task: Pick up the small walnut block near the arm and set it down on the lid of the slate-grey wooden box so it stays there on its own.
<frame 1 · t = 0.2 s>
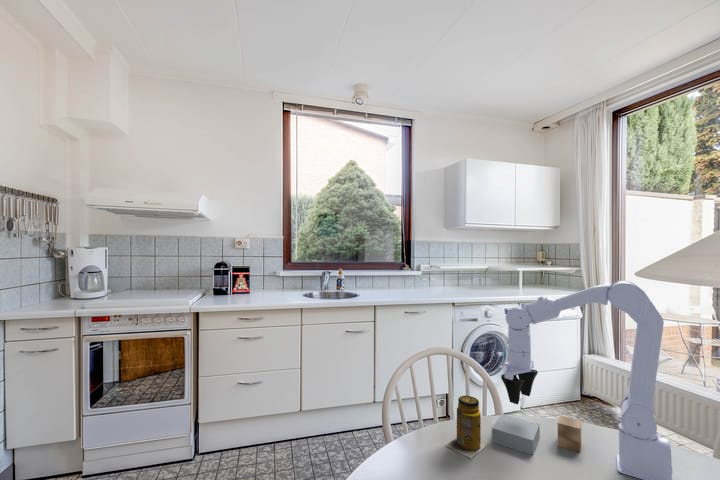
hand: (520, 398, 95), 10 cm above the table, tool pointing down, fingers open, 7 cm apart
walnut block: (569, 444, 90), on the table
slate box: (516, 441, 93), on the table
condiment: (466, 446, 89), on the table
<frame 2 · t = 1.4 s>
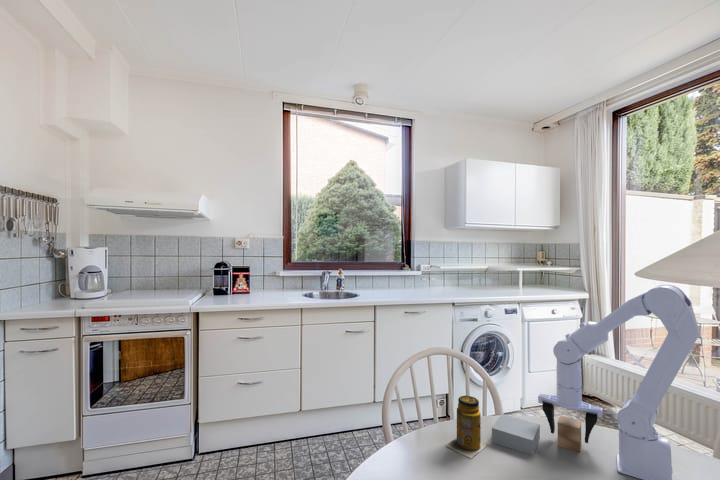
hand: (569, 436, 90), 2 cm above the table, tool pointing down, fingers open, 7 cm apart
nothing on the table moved.
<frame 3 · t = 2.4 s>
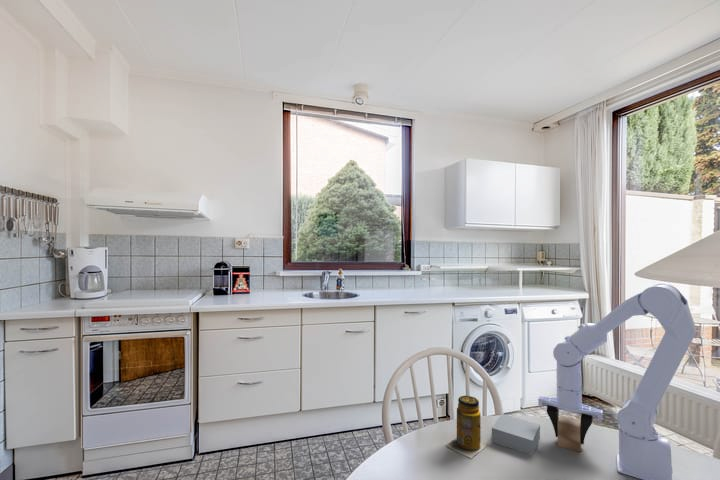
hand: (569, 438, 90), 1 cm above the table, tool pointing down, fingers closed on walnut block, 5 cm apart
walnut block: (569, 444, 90), on the table, touching gripper
everything else where it was.
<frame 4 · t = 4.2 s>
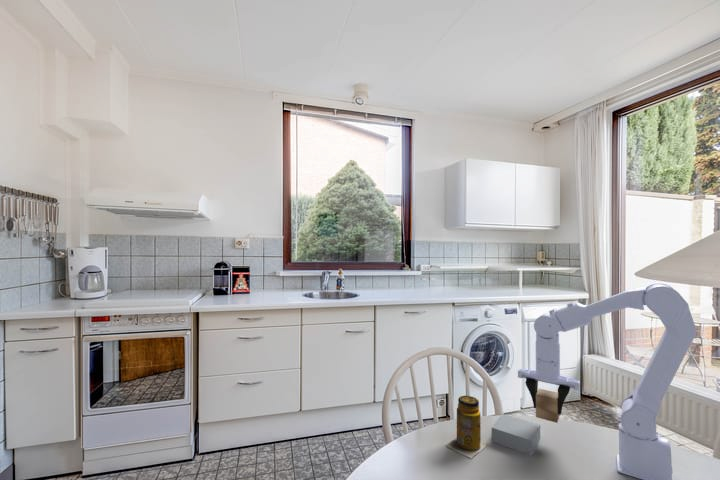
hand: (547, 410, 92), 9 cm above the table, tool pointing down, fingers closed on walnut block, 5 cm apart
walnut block: (547, 416, 92), point 7 cm above the table, touching gripper
everything else where it was.
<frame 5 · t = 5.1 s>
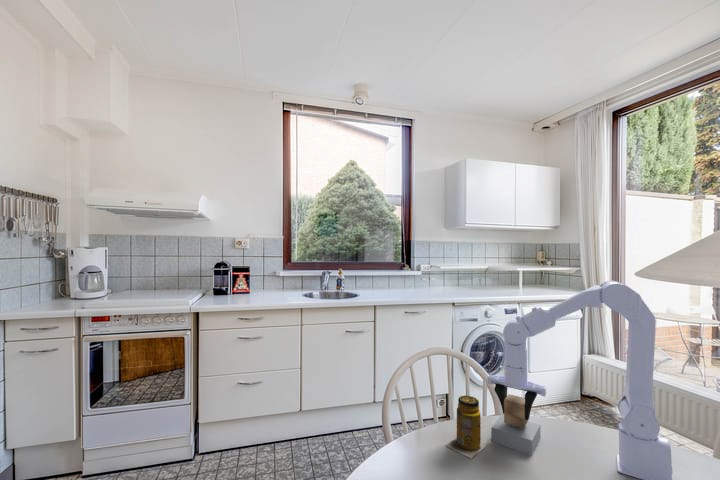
hand: (516, 415, 93), 6 cm above the table, tool pointing down, fingers closed on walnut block, 5 cm apart
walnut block: (516, 421, 93), point 5 cm above the table, touching gripper
everything else where it was.
when the fingers open (6 cm above the table, at t = 5.9 s): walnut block drops 1 cm, resting on slate box.
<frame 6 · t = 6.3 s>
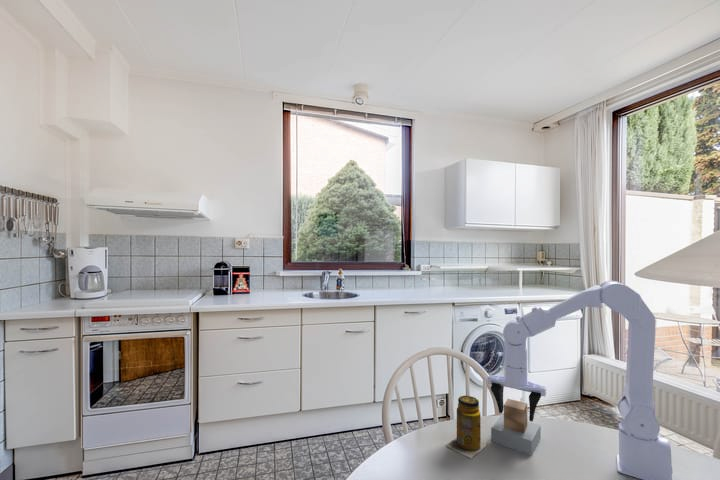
hand: (516, 415, 93), 6 cm above the table, tool pointing down, fingers open, 7 cm apart
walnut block: (515, 426, 93), point 3 cm above the table, touching slate box
slate box: (516, 441, 92), on the table, touching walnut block
everything else where it was.
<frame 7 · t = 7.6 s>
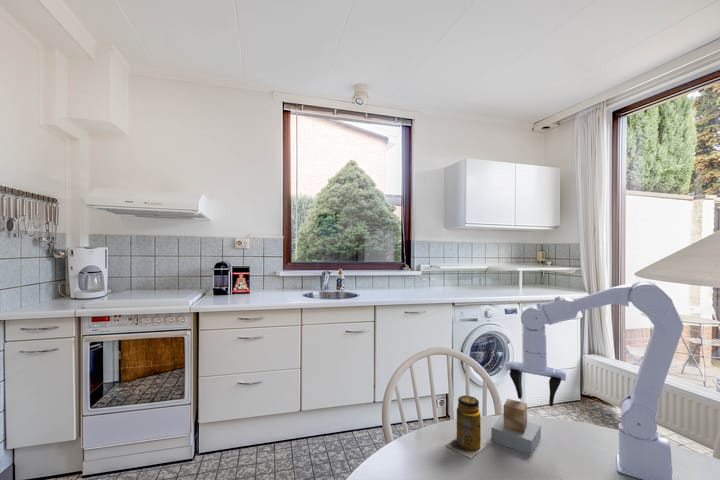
hand: (535, 401, 93), 10 cm above the table, tool pointing down, fingers open, 7 cm apart
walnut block: (515, 426, 93), point 4 cm above the table
slate box: (516, 441, 93), on the table
everything else where it was.
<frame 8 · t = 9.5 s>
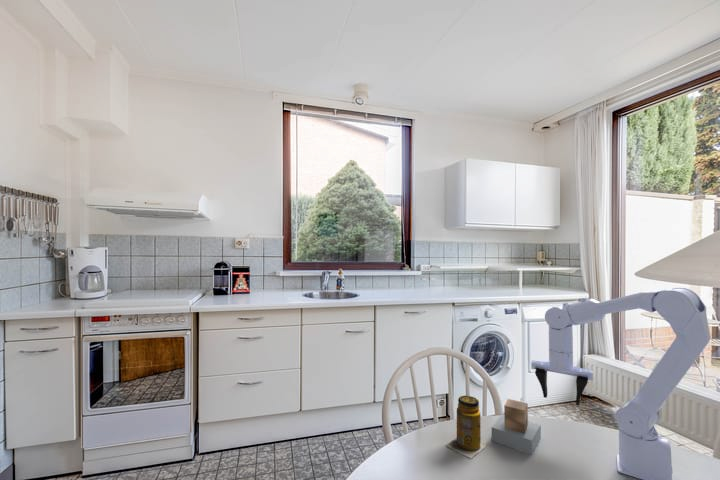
hand: (561, 400, 93), 10 cm above the table, tool pointing down, fingers open, 7 cm apart
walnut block: (516, 426, 92), point 4 cm above the table, touching slate box
slate box: (516, 440, 93), on the table, touching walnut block
everything else where it was.
at the end: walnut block 0.5 cm off-centre on the slate box, point 4.0 cm above the slate box's base; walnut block tilted 0°; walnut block touching slate box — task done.
